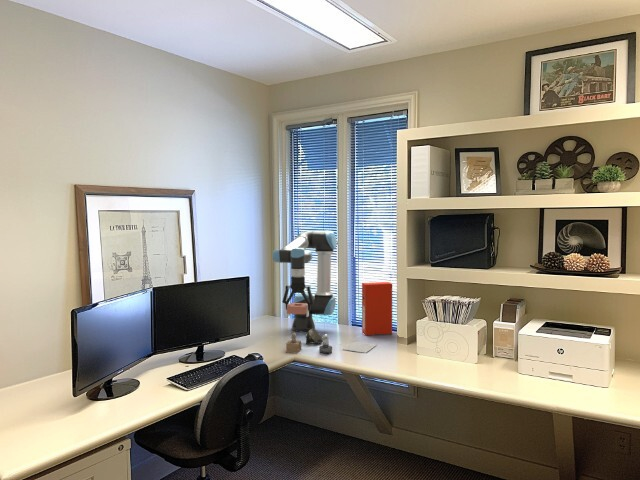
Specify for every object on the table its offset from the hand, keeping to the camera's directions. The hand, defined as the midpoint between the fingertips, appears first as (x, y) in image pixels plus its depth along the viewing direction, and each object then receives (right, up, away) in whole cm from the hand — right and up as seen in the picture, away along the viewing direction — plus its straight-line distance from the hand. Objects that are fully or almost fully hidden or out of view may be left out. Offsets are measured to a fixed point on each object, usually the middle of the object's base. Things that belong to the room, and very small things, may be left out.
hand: (298, 316), depth 264 cm
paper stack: (+37, -20, +2) cm, 42 cm away
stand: (-3, -20, +2) cm, 20 cm away
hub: (+15, -20, -1) cm, 25 cm away
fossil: (+9, -19, +17) cm, 27 cm away
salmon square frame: (0, +2, 0) cm, 2 cm away
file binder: (+48, -17, +38) cm, 64 cm away
